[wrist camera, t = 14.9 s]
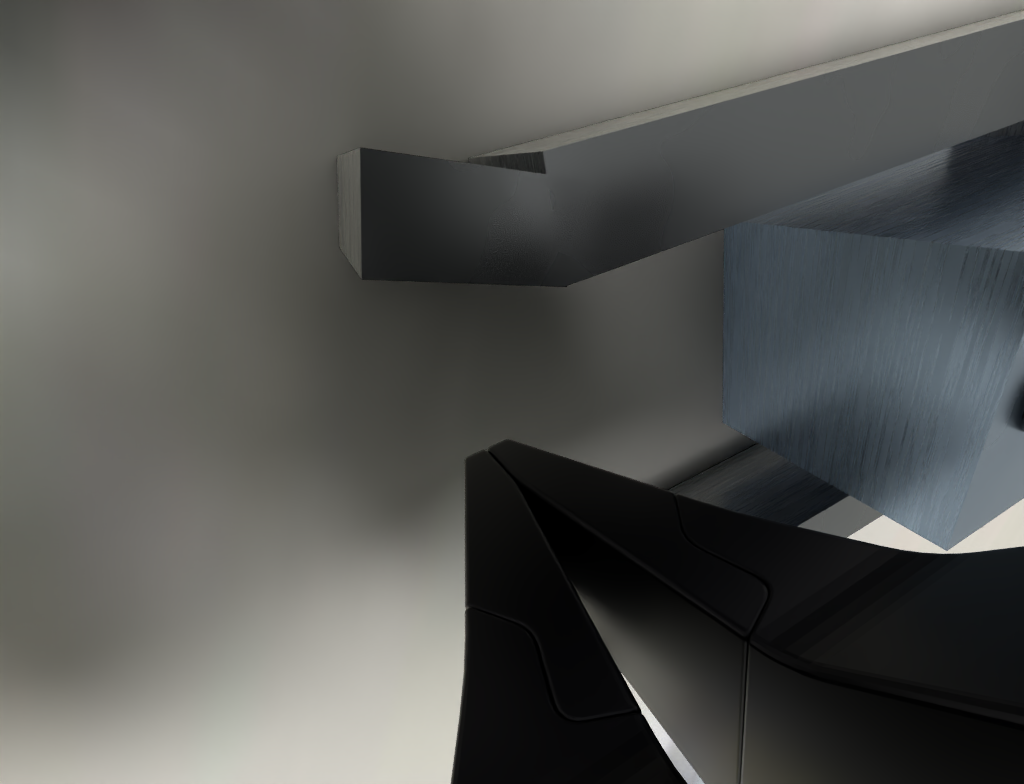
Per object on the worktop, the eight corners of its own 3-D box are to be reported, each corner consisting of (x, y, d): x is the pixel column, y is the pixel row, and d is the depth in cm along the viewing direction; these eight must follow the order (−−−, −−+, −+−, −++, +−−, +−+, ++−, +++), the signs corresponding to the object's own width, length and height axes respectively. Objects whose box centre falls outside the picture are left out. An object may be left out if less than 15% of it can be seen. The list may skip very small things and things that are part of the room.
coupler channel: (306, 163, 6) (347, 138, 2) (1174, -52, 12) (1710, -188, 7) (493, 641, 12) (620, 927, 7) (1031, 342, 17) (1291, 401, 13)
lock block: (719, 219, 10) (1075, 257, 5) (947, 139, 11) (1353, 118, 7) (718, 420, 12) (961, 559, 8) (906, 328, 14) (1189, 398, 9)
